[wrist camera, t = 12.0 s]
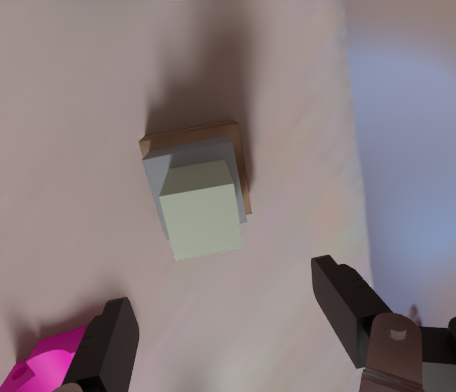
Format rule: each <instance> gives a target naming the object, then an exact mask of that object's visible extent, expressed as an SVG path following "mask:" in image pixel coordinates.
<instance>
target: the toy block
mask: <svg viewBox="0 0 456 392" xmlns="http://www.w3.org/2000/svg"><path fill="white" fill-rule="evenodd" d="M86 327H87V326H84V327H81V328H78V329H75V330H71V331H68V332H65V333H62V334H58V335H55V336H52V337H49V338H45V339H42V340H39V341H38V343H37V345H36V346H35V348H34V349H33V351H32V353H31V354H30V356H29V357H28V359H27V360H24V361H21V362H18V363H16V364H15V366H14V367H13V369H12V370H11V372H10V373H9V375H8V376H7V378H6V379H5V381H4V383H3V384H2V386H1V387H0V392H52V391H53V390H55V389H56V388H58V387H60V386H61V384H62V382H63V379H64V377H65V375H66V373H67V370H68V368H69V366H70V364H71V361H72V359H73V357H74V355H75V352H76V350H78V346H79V343H80V341H81V340H82V336H83V334H84V332H85V330H86Z"/></svg>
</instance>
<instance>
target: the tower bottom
mask: <svg viewBox="0 0 456 392" xmlns="http://www.w3.org/2000/svg"><path fill="white" fill-rule="evenodd" d="M223 135H228V136H229V137H230V139H231V140H232V142H233V148H234V153H235V159H236V164H237V170H238V175H239V181H240V186H241V192H242V197H243V203H244V208H245V214H246V215H247V214H252V211H251V205H250V198H249V191H248V184H247V177H246V171H245V164H244V157H243V150H242V143H241V137H240V130H239V123H237V122H236V121H235V120H230V121H225V122H219V123H214V124H208V125H203V126H197V127H192V128H186V129H181V130H175V131H170V132H164V133H159V134H153V135H148V136H144V137H143V138H142V139H141V140H140V141H139V145H140V148H141V152H142V156H143V158H144V157H145V156H146V154H147V153H148V151H151V150H156V149H161V148H166V147H171V146H175V145H180V144H185V143H190V142H195V141H199V140H204V139H209V138H214V137H219V136H223Z"/></svg>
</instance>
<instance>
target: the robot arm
mask: <svg viewBox="0 0 456 392" xmlns="http://www.w3.org/2000/svg"><path fill="white" fill-rule="evenodd" d="M311 269H312V284H313V291H314V294H315V297H316V300H317V302H318V303H319V305H320V307H321V309H322V310H323V312H324V314H325V316H326V317H327V319H328V321H329V322H330V324H331V326H332V328H333V329H334V331H335V333H336V334H337V336H338V338H339V340H340V341H341V343H342V345H343V346H344V348H345V350H346V352H347V353H348V355H349V357H350V359H351V360H352V362H353V364H354V365H355V367H356V369H358V368H363V367H365V369H363V372H362V377H361V383H360V389H359V392H456V317H454V318H452V319H451V320H450V322H449V325H448V328H436V327H435V328H434V327H422V326H418V325H417V324H416V323H415V322H414V321H412V320H411V319H409V318H408V317H406V316H403V315H401V314H397V313H393V312H392V311H391V310H390V308H389V307H388V306H387V305H386V304H385V303H384V302H383V301H382V299H381V298H380V297H379V296H378V295H377V294H376V293H375V291H374V290H373V289H372V288H371V287H369V285H368V284H367V282H366V281H365V280H363V278H362V277H361V276H360V275H359V273H358V272H357V271H356V270H355V269H353V268H351V267H349V266H348V265H346V264H340V265H338V264H337V263H336V262H335V261H334V260H333V258H332V257H331V256H330V255H324V256H320V257H315V258H312V259H311ZM138 342H139V326H138V323H137V320H136V317H135V315H134V312H133V309H132V307H131V304H130V301H129V299H128V298H127V297H123V298H119V299H114V300H109V301H108V302H107V303H106V305H105V308H104V310H103V313H102V315H99V316H96V317H95V318H94V319H93V320H92V321H91V323H90V324H89V325H88V326H87V327H86V330H85V332H84V334H83V336H82V340H81V341H80V343H79V346H78V350H76V352H75V355H74V357H73V359H72V361H71V364H70V366H69V368H68V370H67V373H66V375H65V377H64V379H63V382H62V384H61V386H60V387H58V388H56V389H55V390H53V391H52V392H128V389H129V384H130V380H131V375H132V370H133V366H134V361H135V356H136V351H137V347H138Z"/></svg>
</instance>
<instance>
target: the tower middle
mask: <svg viewBox="0 0 456 392" xmlns="http://www.w3.org/2000/svg"><path fill="white" fill-rule="evenodd" d="M223 159H225V162H226V165H227V167H228V170H229V172H230V175H231V177H232V180H233V183H234V188H235V195H236V201H237V208H238V215H239V221H240V223H245V222H247V219H246V214H245V208H244V203H243V197H242V192H241V186H240V181H239V175H238V170H237V164H236V159H235V153H234V148H233V142H232V140H231V139H230V137H229V136H228V135H223V136H219V137H214V138H209V139H204V140H199V141H195V142H190V143H185V144H180V145H175V146H171V147H166V148H161V149H156V150H151V151H148V153H147V154H146V156H145V157H144V158H143V160H142V162H143V165H144V168H145V172H146V175H147V178H148V181H149V185H150V188H151V191H152V195H153V198H154V201H155V205H156V208H157V211H158V214H159V218H160V221H161V224H162V228H163V231H164V234H165V237H166V240H167V239H170V238H169V234H168V230H167V226H166V223H165V219H164V215H163V211H162V207H161V203H160V199H159V195H160V192H161V189H162V186H163V184H164V181H165V178H166V175H167V172H168V169H170V168H176V167H182V166H188V165H194V164H199V163H205V162H211V161H217V160H223Z"/></svg>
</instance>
